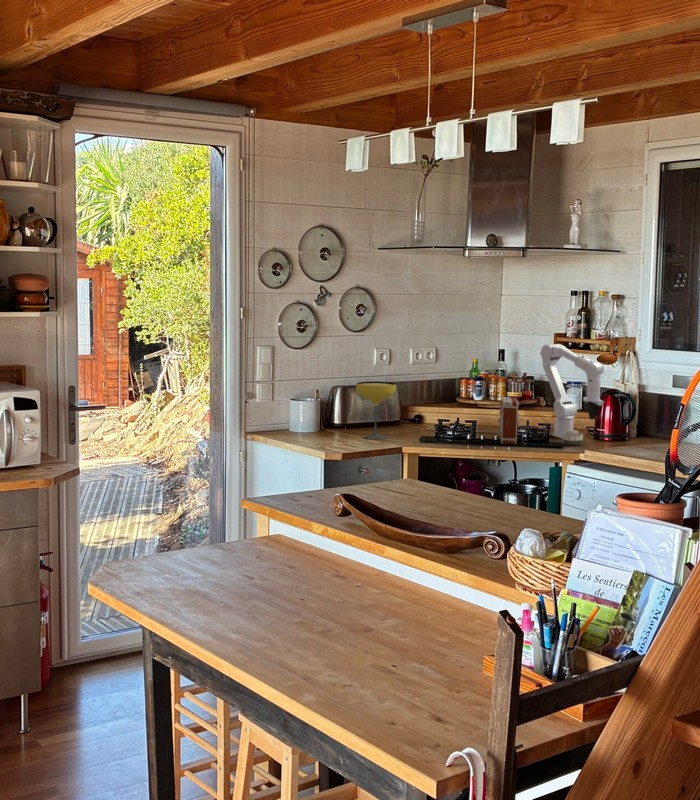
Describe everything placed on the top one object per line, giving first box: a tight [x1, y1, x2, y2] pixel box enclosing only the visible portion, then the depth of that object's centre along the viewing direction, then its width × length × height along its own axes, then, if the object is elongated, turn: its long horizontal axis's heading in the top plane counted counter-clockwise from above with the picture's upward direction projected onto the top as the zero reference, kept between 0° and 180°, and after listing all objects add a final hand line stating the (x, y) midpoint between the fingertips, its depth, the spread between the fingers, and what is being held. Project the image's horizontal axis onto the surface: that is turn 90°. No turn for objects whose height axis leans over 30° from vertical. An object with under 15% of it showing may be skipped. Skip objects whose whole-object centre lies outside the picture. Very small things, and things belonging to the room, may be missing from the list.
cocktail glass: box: [355, 380, 397, 440], centre depth 460 cm, size 18×18×25 cm
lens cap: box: [567, 429, 579, 436], centre depth 448 cm, size 5×5×4 cm
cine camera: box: [497, 396, 520, 446], centre depth 454 cm, size 9×19×20 cm, turn 174°
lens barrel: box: [561, 432, 584, 447], centre depth 449 cm, size 9×9×4 cm
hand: (592, 419), depth 454 cm, fingers closed
